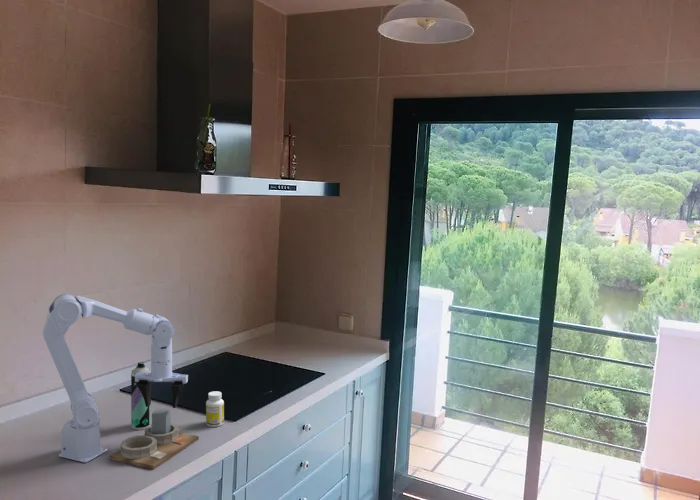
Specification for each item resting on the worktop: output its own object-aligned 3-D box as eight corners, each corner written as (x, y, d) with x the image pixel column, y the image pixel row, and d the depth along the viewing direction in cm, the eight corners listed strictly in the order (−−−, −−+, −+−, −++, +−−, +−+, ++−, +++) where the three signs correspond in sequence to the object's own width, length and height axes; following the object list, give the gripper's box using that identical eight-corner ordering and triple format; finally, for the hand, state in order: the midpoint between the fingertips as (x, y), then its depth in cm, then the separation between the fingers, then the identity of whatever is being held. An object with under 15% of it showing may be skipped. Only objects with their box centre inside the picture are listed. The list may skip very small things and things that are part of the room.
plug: (152, 440, 166) (151, 413, 165) (156, 434, 170) (156, 408, 169) (165, 441, 166) (166, 414, 165) (170, 435, 170) (170, 408, 169)
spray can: (130, 424, 179) (130, 360, 177) (149, 421, 181) (149, 359, 179) (131, 431, 174) (131, 366, 172) (151, 428, 176) (151, 364, 174)
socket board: (110, 459, 156) (110, 446, 156) (158, 431, 175) (158, 419, 174) (153, 469, 151) (153, 456, 151) (198, 439, 170) (198, 427, 170)
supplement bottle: (216, 418, 185) (216, 389, 184) (227, 423, 182) (227, 393, 181) (202, 423, 181) (202, 393, 180) (213, 428, 178) (213, 397, 177)
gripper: (130, 363, 162) (130, 410, 163) (182, 365, 162) (182, 412, 163) (140, 355, 169) (140, 401, 170) (190, 357, 169) (189, 403, 170)
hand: (161, 406), depth 167 cm, fingers open, 7 cm apart
